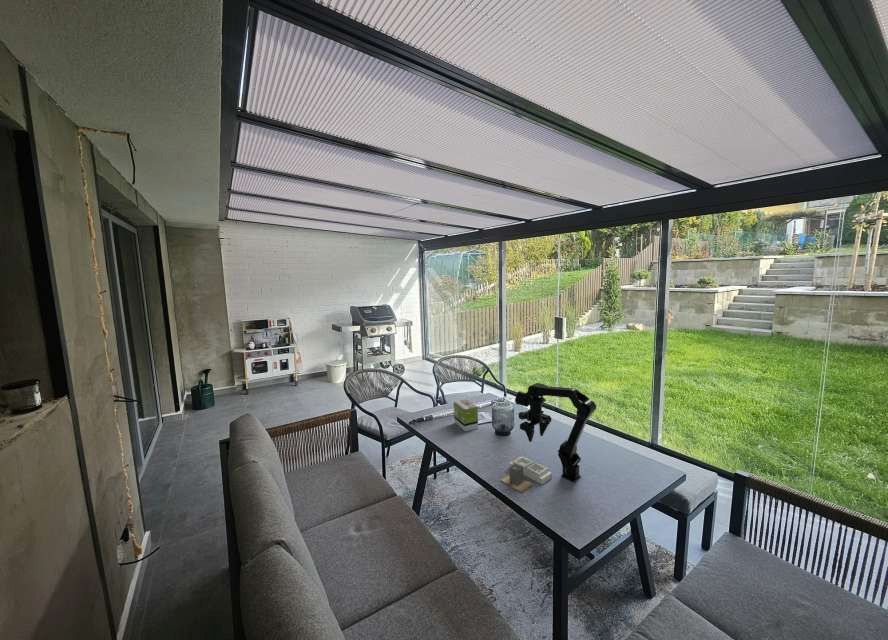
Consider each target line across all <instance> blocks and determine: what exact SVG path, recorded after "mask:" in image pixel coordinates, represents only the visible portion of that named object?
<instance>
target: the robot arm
mask: <svg viewBox="0 0 888 640" xmlns="http://www.w3.org/2000/svg"><path fill="white" fill-rule="evenodd" d="M516 393H517V394H516V395H515V399H514V403H515V404H516V405H517V406H518V405H519V406H521V407H526V408H528V407H529V410H525V411H519V412H518V419H519V420H521V421H523V422H521V423H520V424H519V429H520V430H522V431H524V432H525V434H526V437H527V439H528V441H529V443H532V442H533V438H534V434H535V426H537V425H538V427H539V428H538V429H539V436H540V437H543V436H544V434H545V432H546V430H547V428H548V426H549V425H550V424H551V422H552V417H551V415H550V414H545V413H544V412H545V411H544V410H543V409H542V408H543V407H542V405H543V403H545V402H547V399H546V398H544V397H545V396H548V397H559V398H568V399H569V400H570V401H571V403H572V405H573V407H574V408H575V409H576V419H575V421H574V424H573V425H572V426H573V427H572V429H571V430H570V434H569V436H568V439H567V440H564V441H563V442H562V443H561V444H560V446H559V448H558V450H557V453H558V454H557V455H558V458H559V460H560V462H561V465H562V474H561V477H562V478H564V479H566V480H568V481H571V482H574V483H575V482H576V481H577V480H579V479H580V478H582V476H581V474H580V465H579V463H580V462H581V460H582V458H581V457H580V456H579V454H578V453H577V452H578V451H577V450H578V446H577V444H578V443H579V440H580V438H581V435H582V433H583V431H584V428H585V426H586V424H587V421H588V420H589V419H590V418H591V416H592V415H593V414H594V412H596V410H597V404H596V403H595V402H594V400H592V399H591V398H589V397H588V396H587V395H586V394H584V393H582V392H580V390H578V389H577V388H576V387H562V386H550V385H549V386H548V385H546V384H544V383H541V382H535V383H534V384H531V385H529V386H528V387H527V391H526V392H523V391H517V392H516ZM524 420H526V421H524Z"/></svg>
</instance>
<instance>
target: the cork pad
mask: <svg viewBox="0 0 888 640" xmlns="http://www.w3.org/2000/svg"><path fill="white" fill-rule="evenodd" d="M500 482H502V483H504V484H505V485H507V486H509V487H511V488H512V489H514V490H516V491H518V492H520V494H521V493H523V492H525V491H527V490H528V489H529V488H531V487H532V486H533V485H534V484H533V483H532V482H530V481H528V480H526V479H524V478H523V482H522V483H521V484H519V485H518V486H517V485H515V484H513V483H511V482H510V473H509V474H507V475H506V476H504V477H503V478H501V479H500Z"/></svg>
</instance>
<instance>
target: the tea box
mask: <svg viewBox="0 0 888 640" xmlns="http://www.w3.org/2000/svg"><path fill="white" fill-rule="evenodd" d="M478 408H479V407H478V406H477V405H476V404H474V403H473V402H471V401H469V400H468V399H462V400H458V401H454V402H453V416H454V417H453V418H454V422H453V423H454V424H455V425H456V426H458V427H459V428H460V429H461V430H463V431H464V432H469V431H473V430H477V429H479V416H478V415H479V413H478V410H479V409H478Z"/></svg>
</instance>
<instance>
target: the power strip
mask: <svg viewBox="0 0 888 640" xmlns="http://www.w3.org/2000/svg"><path fill="white" fill-rule="evenodd" d="M514 464H517V465H519V466H521V467H523V476H525V477H527V478H529V479H531V480H533V481H534V482H537V483H539V484H541V485H544V484H546V482H548V481H549V480H551V479H552V478H553V473H552V472H551V471H549V468H548V467H547V466H544V465H542V464H540V463H537V462H535V461H533V460H531V459H529V458H527V457H524V456H522V455H521V456H519V457H515V458H513V459H512V461H510V462H509V467H511V466H512V465H514Z"/></svg>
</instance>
